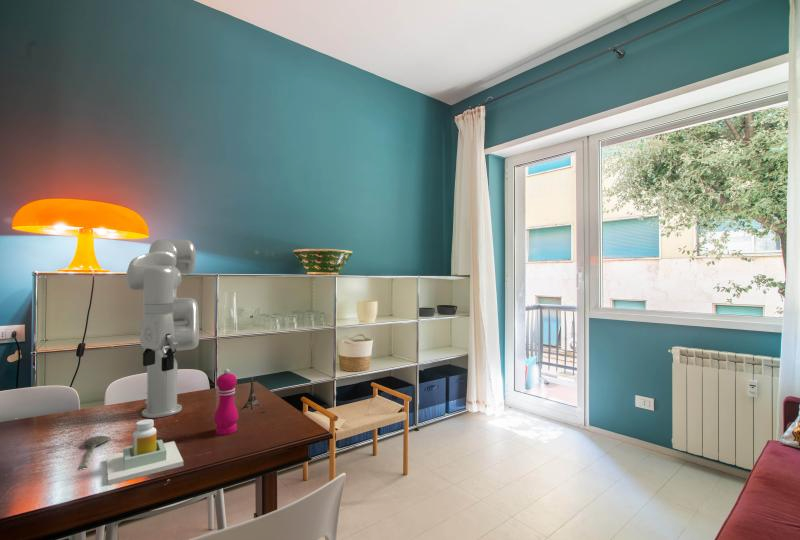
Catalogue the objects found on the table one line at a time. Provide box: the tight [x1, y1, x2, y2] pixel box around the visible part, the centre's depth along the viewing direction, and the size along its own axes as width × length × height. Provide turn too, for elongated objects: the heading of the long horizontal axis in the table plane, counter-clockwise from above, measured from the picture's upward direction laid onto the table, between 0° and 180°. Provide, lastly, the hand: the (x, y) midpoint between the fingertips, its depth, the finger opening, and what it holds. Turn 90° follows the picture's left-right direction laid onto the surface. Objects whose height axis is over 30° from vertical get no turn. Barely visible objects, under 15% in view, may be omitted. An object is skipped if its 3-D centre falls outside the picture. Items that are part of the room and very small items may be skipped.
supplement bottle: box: [132, 418, 158, 456], centre depth 106 cm, size 5×5×10 cm
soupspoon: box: [78, 435, 111, 470], centre depth 112 cm, size 22×3×7 cm
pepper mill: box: [213, 368, 239, 436], centre depth 128 cm, size 7×7×20 cm
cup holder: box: [106, 439, 184, 486], centre depth 106 cm, size 16×16×4 cm
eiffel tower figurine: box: [242, 376, 262, 410], centre depth 151 cm, size 15×10×13 cm
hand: (158, 367), depth 116 cm, fingers open, 9 cm apart
